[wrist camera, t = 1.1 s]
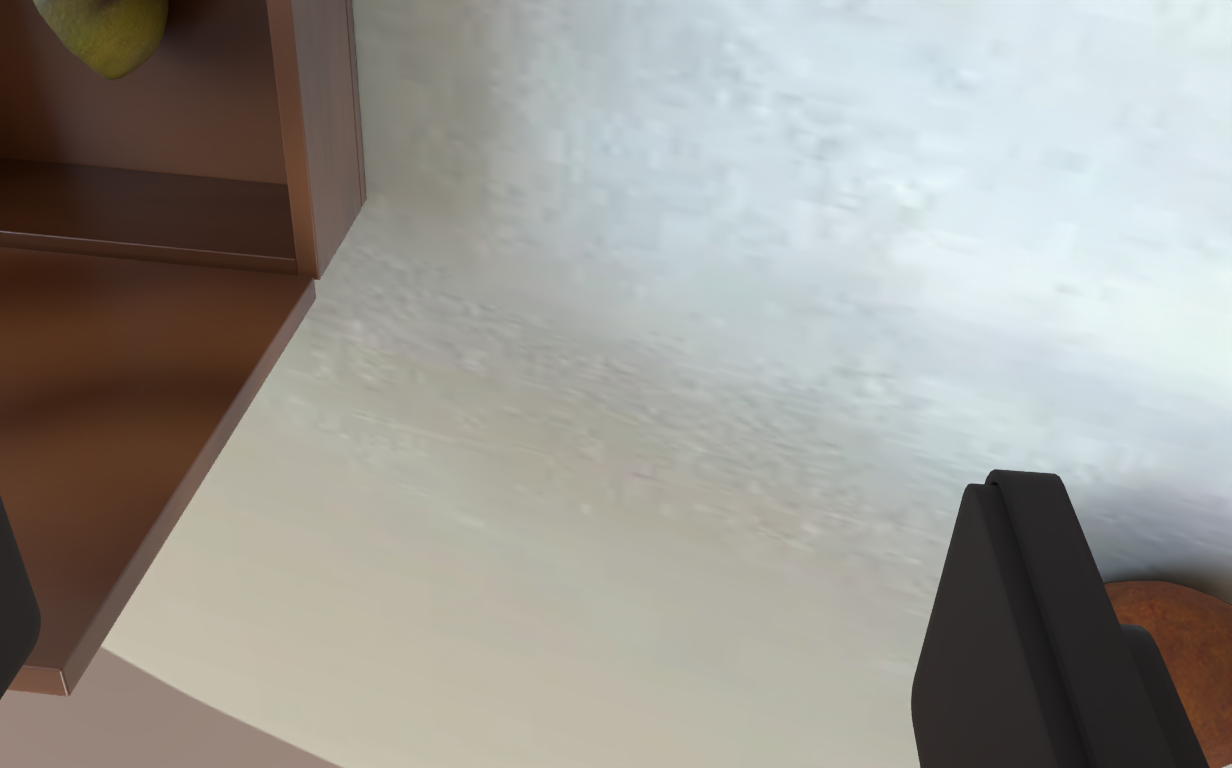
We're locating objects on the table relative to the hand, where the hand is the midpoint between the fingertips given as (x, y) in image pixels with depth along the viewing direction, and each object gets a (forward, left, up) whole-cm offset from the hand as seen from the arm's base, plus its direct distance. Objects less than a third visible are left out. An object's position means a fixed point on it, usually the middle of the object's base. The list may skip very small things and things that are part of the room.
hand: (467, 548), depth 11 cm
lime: (+3, -16, -28) cm, 33 cm away
